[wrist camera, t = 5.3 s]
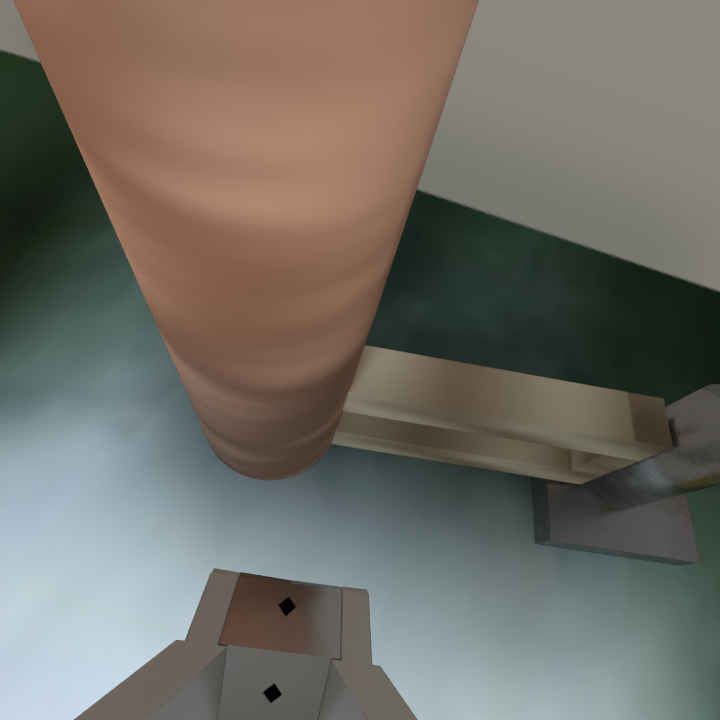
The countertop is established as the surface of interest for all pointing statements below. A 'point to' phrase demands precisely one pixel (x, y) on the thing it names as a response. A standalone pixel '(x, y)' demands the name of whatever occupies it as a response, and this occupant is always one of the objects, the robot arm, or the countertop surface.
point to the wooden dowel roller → (301, 228)
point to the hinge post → (640, 494)
